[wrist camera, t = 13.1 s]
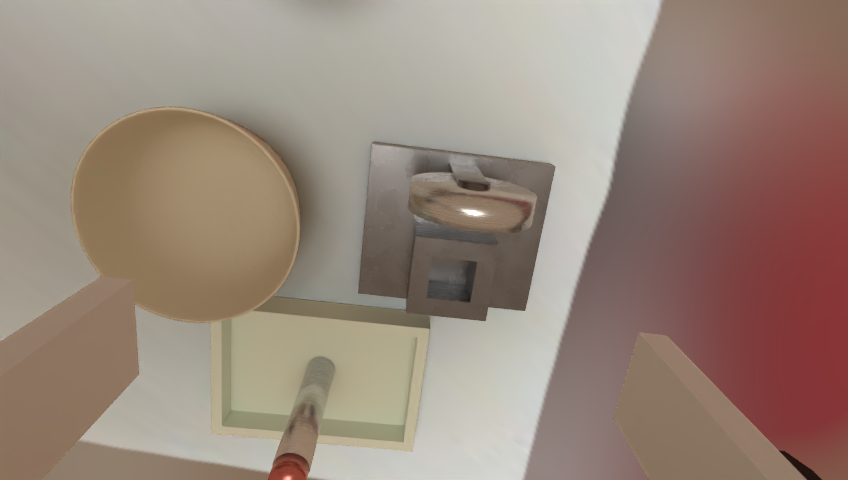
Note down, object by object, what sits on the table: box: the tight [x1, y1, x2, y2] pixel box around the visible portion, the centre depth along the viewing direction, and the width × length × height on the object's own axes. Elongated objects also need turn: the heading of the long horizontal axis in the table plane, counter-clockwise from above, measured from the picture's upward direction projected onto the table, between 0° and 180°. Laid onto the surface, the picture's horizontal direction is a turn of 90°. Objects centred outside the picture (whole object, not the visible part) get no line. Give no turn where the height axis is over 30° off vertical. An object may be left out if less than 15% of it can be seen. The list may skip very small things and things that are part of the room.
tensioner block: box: [358, 142, 555, 321], centre depth 40 cm, size 16×14×14 cm
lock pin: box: [268, 357, 335, 480], centre depth 43 cm, size 3×3×15 cm
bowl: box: [71, 107, 300, 323], centre depth 40 cm, size 16×16×10 cm
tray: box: [210, 296, 430, 451], centre depth 49 cm, size 20×14×3 cm
